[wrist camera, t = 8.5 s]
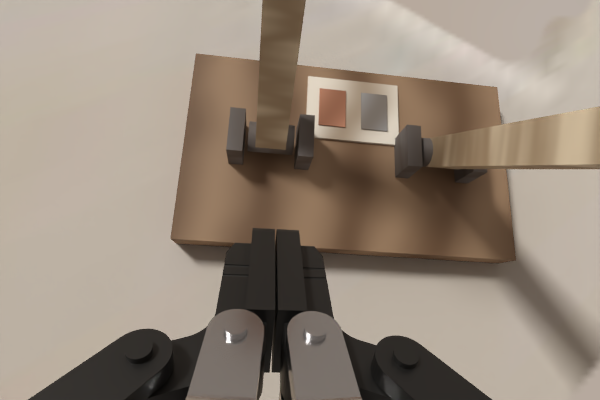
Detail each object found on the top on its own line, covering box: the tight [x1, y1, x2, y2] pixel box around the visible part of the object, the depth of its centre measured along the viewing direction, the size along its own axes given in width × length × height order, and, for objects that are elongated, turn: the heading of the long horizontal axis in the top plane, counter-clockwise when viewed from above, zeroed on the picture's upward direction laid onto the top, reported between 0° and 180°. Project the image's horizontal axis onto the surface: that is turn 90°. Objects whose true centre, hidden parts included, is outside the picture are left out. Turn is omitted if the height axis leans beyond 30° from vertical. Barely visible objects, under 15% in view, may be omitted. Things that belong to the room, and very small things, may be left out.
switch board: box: [171, 54, 516, 263], centre depth 28 cm, size 24×14×4 cm, turn 87°
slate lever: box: [422, 107, 600, 170], centre depth 19 cm, size 3×3×19 cm
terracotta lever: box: [248, 0, 306, 155], centre depth 19 cm, size 3×3×19 cm
